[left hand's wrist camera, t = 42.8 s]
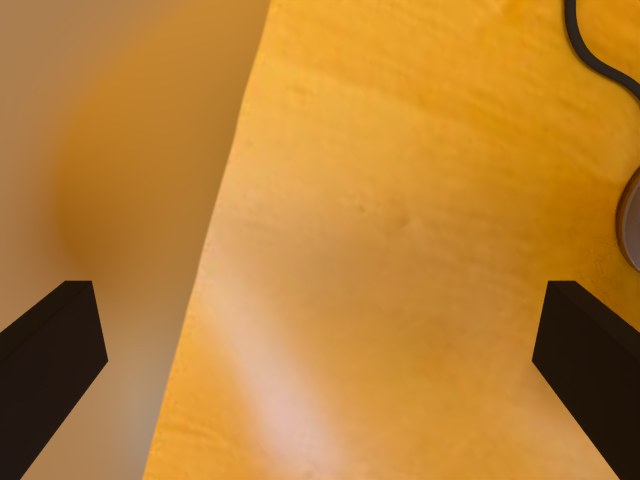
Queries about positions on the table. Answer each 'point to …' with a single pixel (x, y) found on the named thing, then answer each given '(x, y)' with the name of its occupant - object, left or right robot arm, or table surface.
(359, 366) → the table surface
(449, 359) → the table surface
